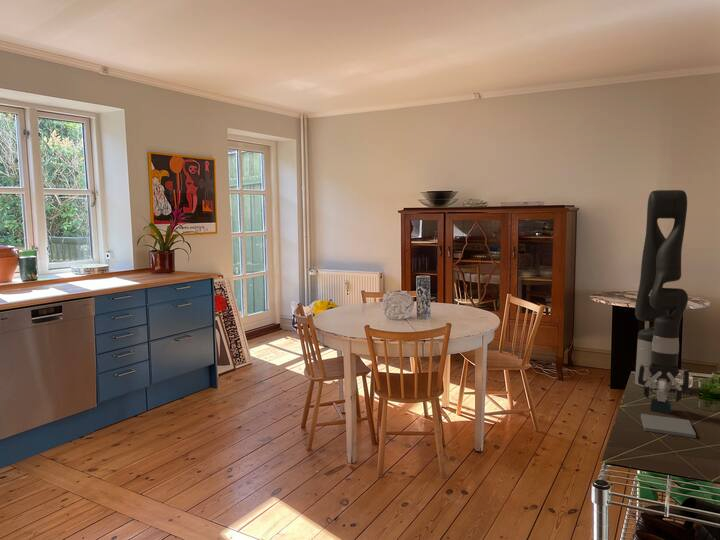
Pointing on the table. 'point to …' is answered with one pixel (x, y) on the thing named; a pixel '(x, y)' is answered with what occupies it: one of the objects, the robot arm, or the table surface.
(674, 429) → the mat
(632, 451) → the table surface
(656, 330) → the robot arm
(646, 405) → the table surface
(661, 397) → the watch
